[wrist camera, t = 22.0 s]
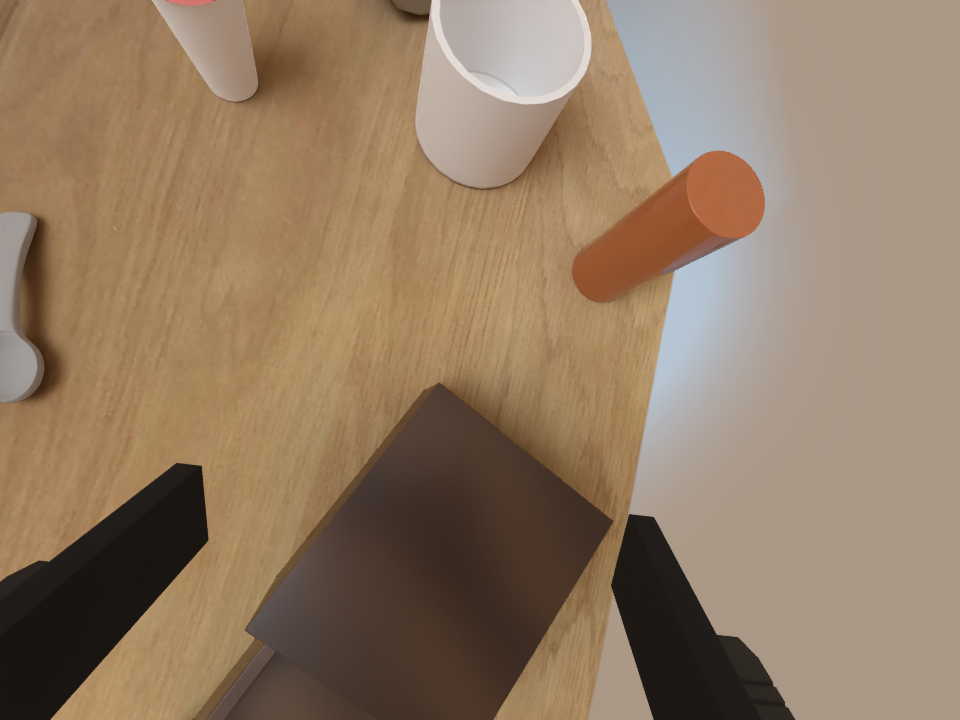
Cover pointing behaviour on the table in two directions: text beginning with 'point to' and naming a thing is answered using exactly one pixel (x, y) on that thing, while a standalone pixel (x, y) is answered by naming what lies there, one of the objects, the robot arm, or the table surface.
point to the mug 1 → (414, 6)
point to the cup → (215, 43)
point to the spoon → (16, 312)
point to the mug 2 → (496, 83)
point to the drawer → (275, 692)
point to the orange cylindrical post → (673, 227)
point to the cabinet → (432, 570)
